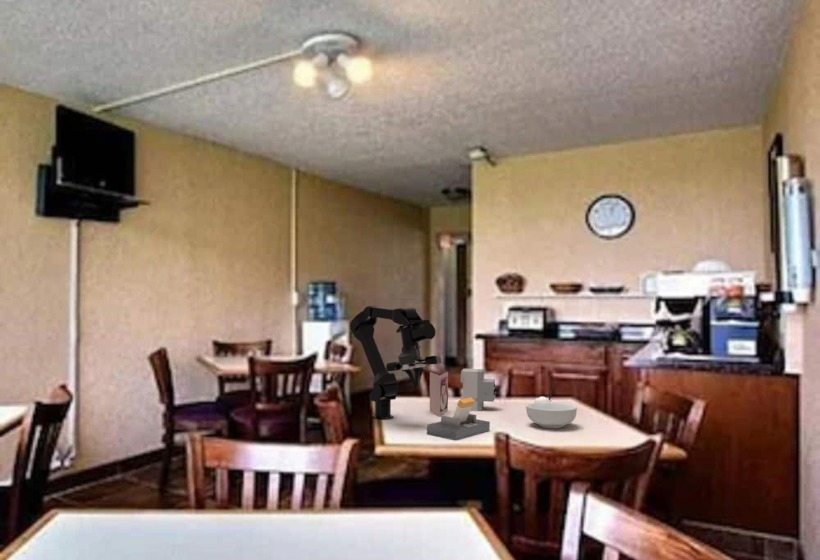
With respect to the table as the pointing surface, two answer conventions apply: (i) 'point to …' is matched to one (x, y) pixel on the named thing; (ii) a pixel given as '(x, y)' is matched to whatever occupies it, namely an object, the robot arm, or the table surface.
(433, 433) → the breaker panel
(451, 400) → the table surface
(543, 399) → the white mound with stick
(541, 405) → the cereal bowl
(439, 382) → the pink box
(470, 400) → the lever
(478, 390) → the circuit breaker
